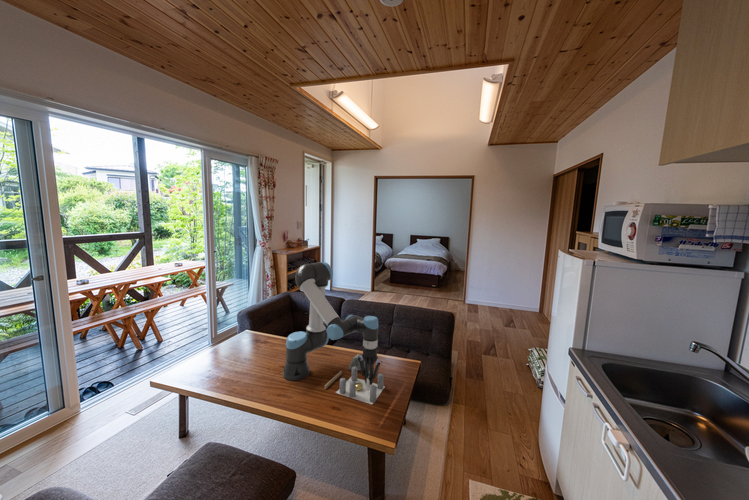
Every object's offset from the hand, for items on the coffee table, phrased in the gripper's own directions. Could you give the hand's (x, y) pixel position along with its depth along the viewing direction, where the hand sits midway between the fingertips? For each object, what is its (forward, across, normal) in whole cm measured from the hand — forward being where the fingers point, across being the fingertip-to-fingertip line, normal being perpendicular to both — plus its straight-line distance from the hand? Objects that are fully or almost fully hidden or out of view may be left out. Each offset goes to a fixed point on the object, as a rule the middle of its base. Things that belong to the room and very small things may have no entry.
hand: (368, 389), depth 150 cm
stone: (+3, -16, +20) cm, 25 cm away
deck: (+3, -8, 0) cm, 8 cm away
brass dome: (+2, -6, 0) cm, 6 cm away
